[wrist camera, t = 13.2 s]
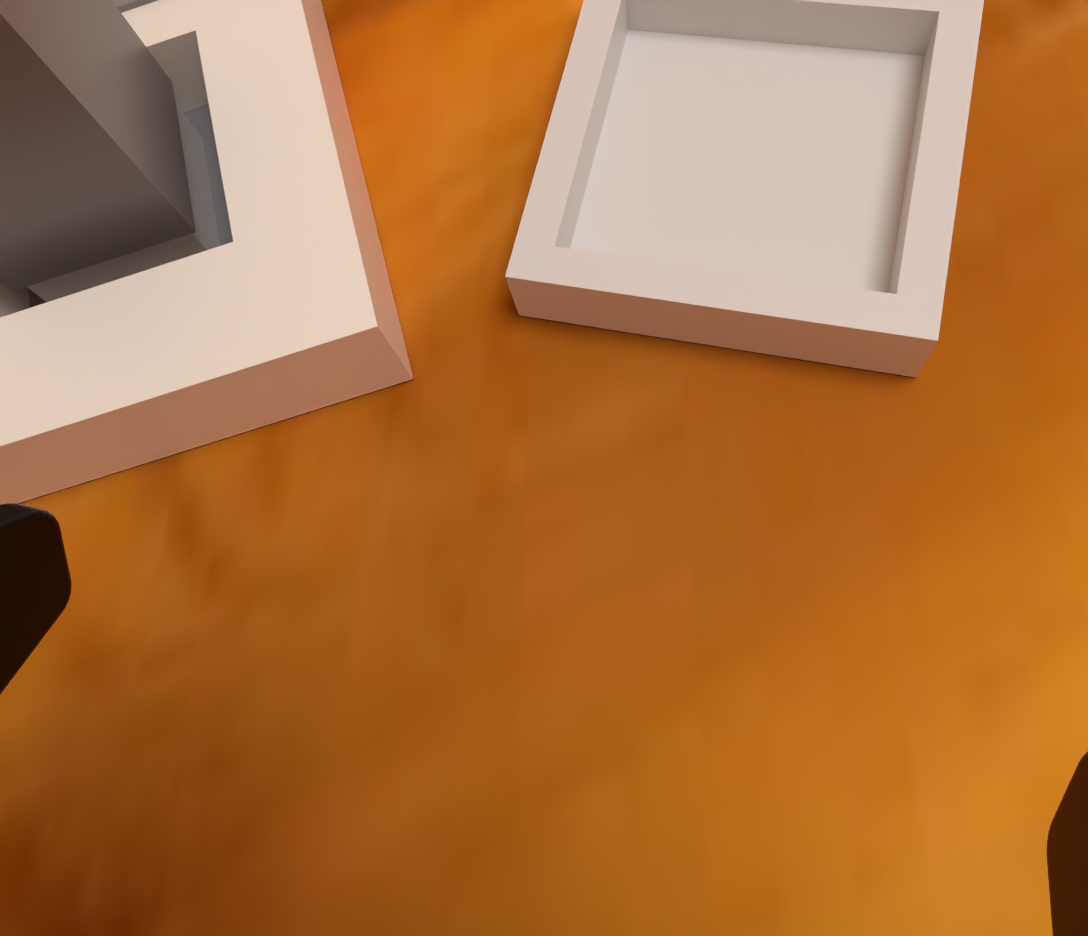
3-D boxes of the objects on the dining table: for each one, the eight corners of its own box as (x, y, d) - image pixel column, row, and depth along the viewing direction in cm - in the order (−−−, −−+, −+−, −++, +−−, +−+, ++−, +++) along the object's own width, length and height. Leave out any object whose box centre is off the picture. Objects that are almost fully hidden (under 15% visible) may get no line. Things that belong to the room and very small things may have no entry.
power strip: (413, 378, 24) (369, 313, 21) (-48, 524, 25) (-163, 483, 21) (276, -180, 32) (228, -294, 28) (-75, -59, 32) (-163, -156, 29)
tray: (916, 377, 22) (937, 340, 20) (518, 315, 24) (505, 276, 22) (963, 42, 25) (986, -17, 23) (602, 12, 27) (596, -45, 25)
